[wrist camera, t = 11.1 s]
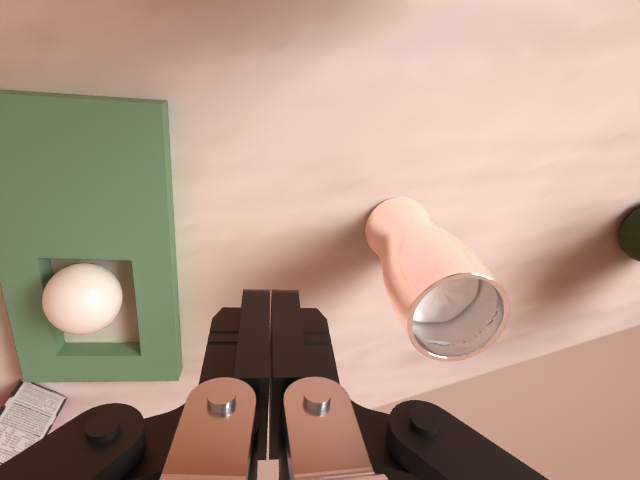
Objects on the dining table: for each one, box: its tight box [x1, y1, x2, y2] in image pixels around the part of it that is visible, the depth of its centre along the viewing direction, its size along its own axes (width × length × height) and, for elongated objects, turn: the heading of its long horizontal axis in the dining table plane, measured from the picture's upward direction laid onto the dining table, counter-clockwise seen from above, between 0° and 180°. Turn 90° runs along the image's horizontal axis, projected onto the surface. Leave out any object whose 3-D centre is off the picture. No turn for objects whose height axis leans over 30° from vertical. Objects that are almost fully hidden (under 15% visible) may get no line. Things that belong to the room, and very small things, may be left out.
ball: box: [42, 263, 122, 335], centre depth 38 cm, size 6×6×6 cm
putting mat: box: [0, 90, 182, 382], centre depth 39 cm, size 26×14×2 cm, turn 176°
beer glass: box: [365, 197, 509, 361], centre depth 35 cm, size 7×7×15 cm
